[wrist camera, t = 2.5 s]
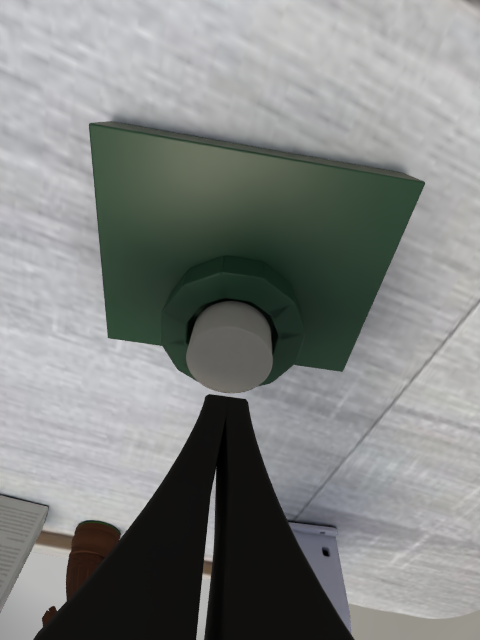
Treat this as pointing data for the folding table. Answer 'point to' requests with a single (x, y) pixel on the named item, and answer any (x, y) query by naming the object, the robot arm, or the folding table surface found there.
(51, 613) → the chess piece
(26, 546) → the cosmetic box
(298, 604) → the robot arm
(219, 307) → the beige short cylinder
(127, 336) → the push button base
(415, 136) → the folding table surface
